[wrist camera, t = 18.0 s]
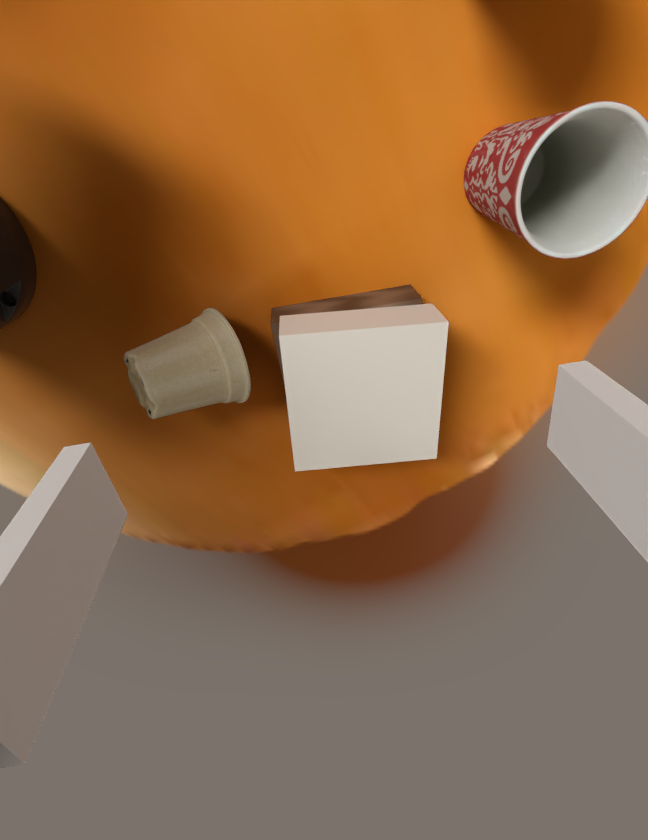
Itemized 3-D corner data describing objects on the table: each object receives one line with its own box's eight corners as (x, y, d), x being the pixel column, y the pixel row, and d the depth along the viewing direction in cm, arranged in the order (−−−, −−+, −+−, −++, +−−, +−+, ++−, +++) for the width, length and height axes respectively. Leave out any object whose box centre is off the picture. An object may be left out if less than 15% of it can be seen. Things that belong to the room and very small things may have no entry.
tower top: (294, 442, 48) (295, 471, 44) (279, 315, 41) (278, 335, 37) (423, 431, 49) (436, 458, 45) (432, 303, 41) (448, 321, 37)
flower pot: (134, 345, 34) (237, 315, 38) (105, 324, 41) (195, 301, 45) (170, 451, 38) (259, 414, 42) (138, 416, 45) (217, 387, 49)
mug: (456, 239, 43) (517, 274, 32) (447, 129, 38) (514, 124, 27) (590, 203, 42) (702, 226, 31) (597, 86, 37) (733, 61, 26)
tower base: (297, 422, 53) (297, 447, 49) (272, 307, 46) (270, 323, 41) (415, 403, 53) (426, 425, 49) (409, 283, 45) (421, 298, 41)
